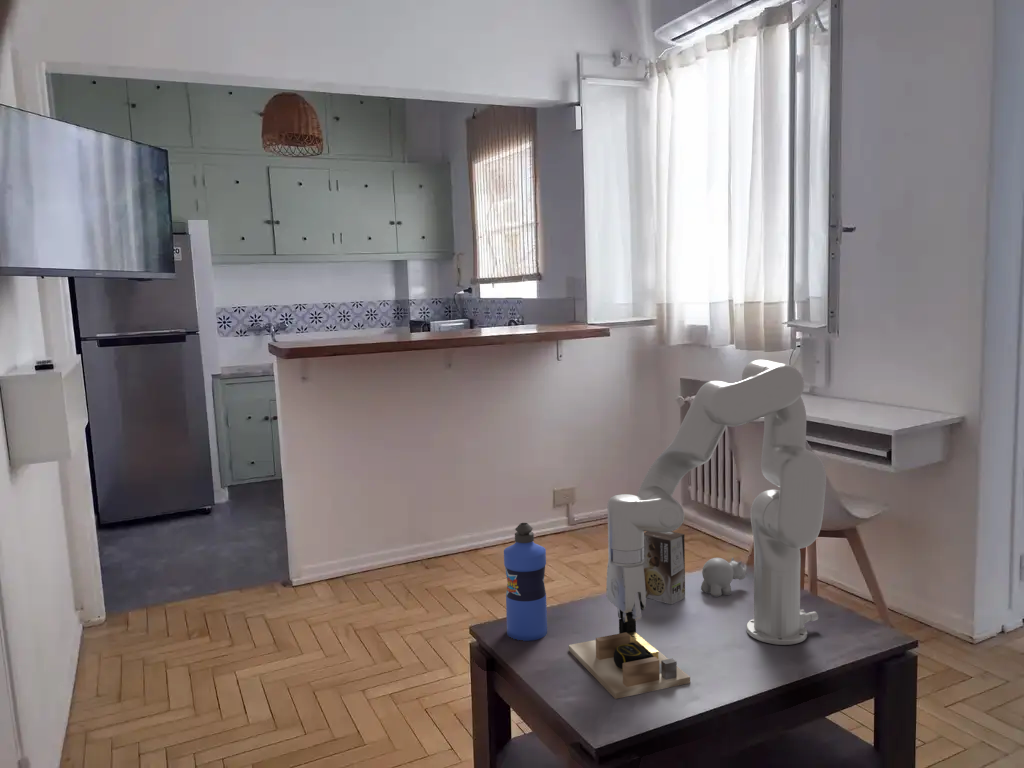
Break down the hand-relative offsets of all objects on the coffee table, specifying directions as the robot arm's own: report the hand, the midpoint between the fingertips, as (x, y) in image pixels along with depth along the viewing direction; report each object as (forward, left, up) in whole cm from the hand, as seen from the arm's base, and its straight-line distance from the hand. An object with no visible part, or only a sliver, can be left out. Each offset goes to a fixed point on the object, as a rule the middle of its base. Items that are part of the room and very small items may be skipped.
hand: (627, 637), depth 170 cm
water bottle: (+17, -15, -2) cm, 23 cm away
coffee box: (-21, -21, -2) cm, 30 cm away
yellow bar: (0, +7, 0) cm, 7 cm away
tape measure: (+4, +11, -1) cm, 12 cm away
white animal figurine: (-37, -18, -2) cm, 41 cm away
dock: (+4, +8, -2) cm, 9 cm away
